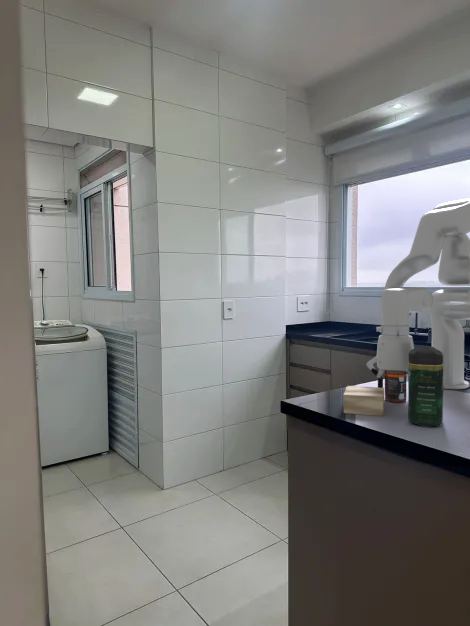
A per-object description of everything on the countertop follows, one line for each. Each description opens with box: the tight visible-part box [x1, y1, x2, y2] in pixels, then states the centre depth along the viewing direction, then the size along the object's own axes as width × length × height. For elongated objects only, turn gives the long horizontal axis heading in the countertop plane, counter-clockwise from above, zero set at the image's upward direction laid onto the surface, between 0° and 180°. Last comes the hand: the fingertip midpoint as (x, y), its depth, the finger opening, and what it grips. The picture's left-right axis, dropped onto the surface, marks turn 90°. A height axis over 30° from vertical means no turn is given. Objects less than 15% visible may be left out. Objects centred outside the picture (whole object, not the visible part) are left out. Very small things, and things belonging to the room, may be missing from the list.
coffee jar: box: [407, 345, 444, 428], centre depth 103 cm, size 10×8×19 cm
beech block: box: [343, 385, 385, 417], centre depth 115 cm, size 10×10×5 cm
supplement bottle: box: [384, 371, 407, 404], centre depth 122 cm, size 6×6×11 cm
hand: (395, 391), depth 122 cm, fingers open, 7 cm apart
